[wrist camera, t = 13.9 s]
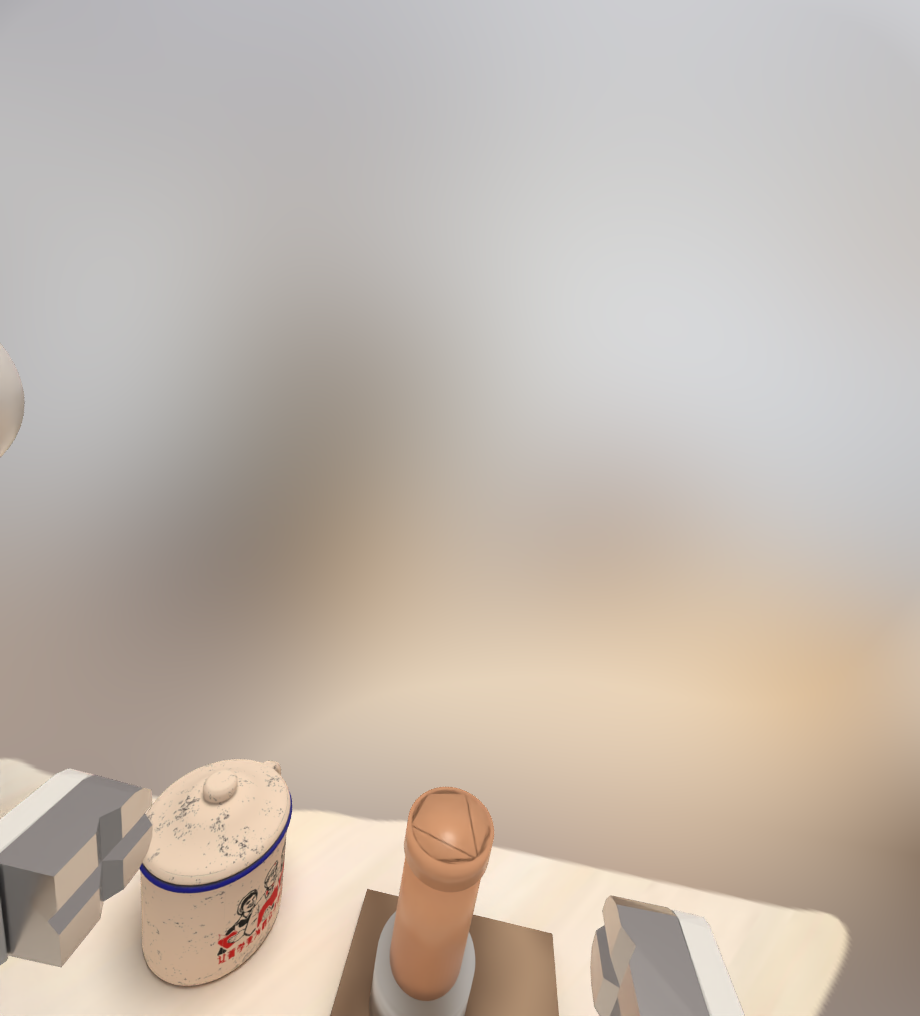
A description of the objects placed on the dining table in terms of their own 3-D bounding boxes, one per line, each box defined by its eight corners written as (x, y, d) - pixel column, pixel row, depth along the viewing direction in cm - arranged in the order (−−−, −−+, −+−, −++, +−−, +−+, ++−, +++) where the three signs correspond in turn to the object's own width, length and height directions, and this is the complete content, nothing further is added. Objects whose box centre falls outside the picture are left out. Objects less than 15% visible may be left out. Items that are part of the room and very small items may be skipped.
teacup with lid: (236, 1014, 27) (244, 867, 24) (100, 971, 28) (93, 825, 25) (321, 832, 39) (334, 718, 36) (223, 806, 40) (228, 692, 37)
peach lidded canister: (376, 993, 25) (398, 856, 23) (396, 901, 30) (417, 779, 27) (460, 1015, 25) (492, 878, 22) (468, 919, 30) (495, 796, 27)
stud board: (300, 1125, 24) (308, 1059, 22) (365, 900, 34) (373, 847, 33) (567, 1199, 23) (590, 1135, 22) (548, 945, 33) (564, 892, 32)
